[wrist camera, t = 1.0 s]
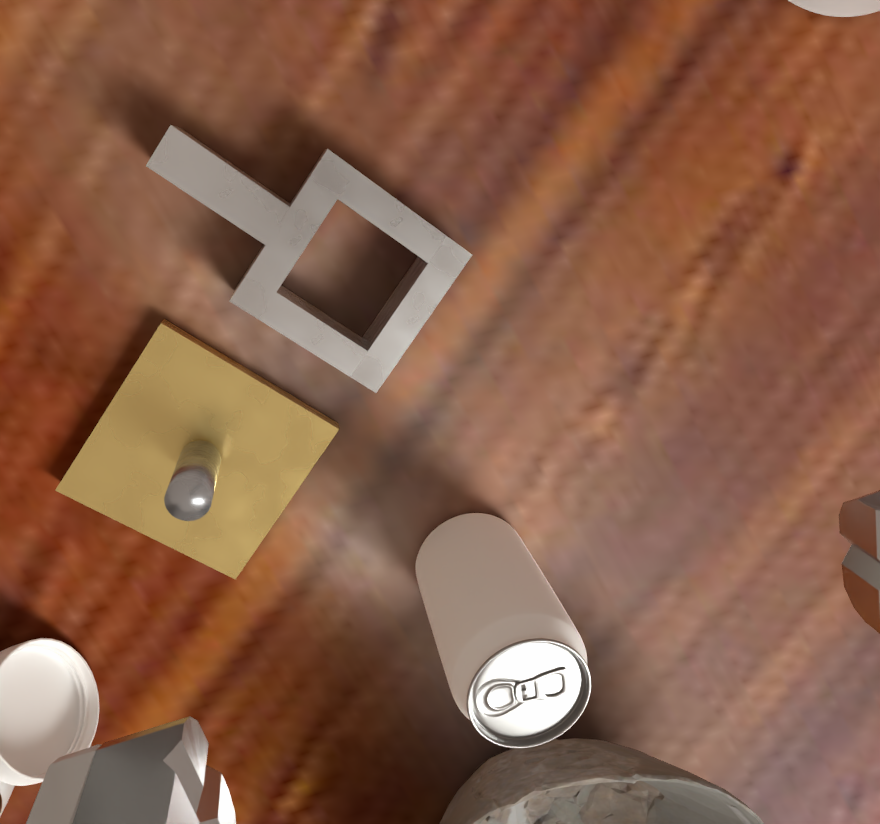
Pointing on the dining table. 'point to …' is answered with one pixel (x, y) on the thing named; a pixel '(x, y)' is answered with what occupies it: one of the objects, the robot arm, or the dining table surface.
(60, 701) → the spread jar
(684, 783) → the ceramic bowl
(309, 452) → the post
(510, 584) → the can
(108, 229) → the dining table surface
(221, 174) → the grey square frame handle
